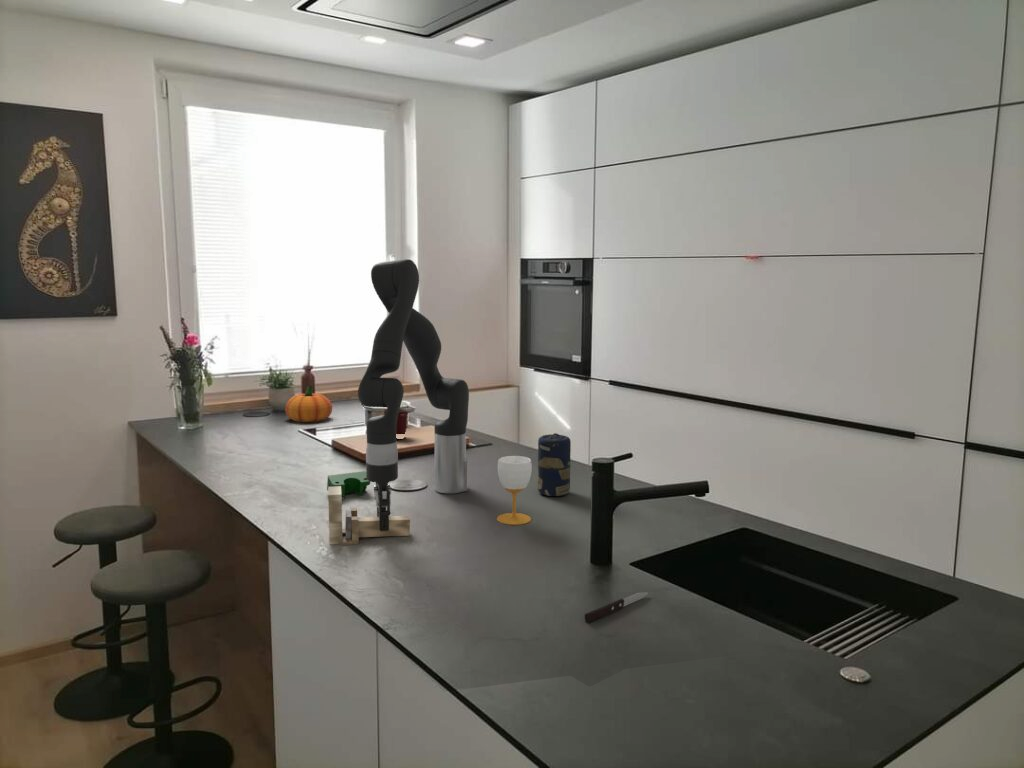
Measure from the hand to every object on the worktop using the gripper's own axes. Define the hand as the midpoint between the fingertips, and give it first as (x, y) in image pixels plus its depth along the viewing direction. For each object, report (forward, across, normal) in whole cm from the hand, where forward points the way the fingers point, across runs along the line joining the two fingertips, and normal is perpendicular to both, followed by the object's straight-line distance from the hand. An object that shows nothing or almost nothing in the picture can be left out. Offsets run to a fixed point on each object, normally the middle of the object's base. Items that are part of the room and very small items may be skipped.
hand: (382, 524), depth 179 cm
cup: (+3, +5, -34) cm, 35 cm away
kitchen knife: (+3, -50, -41) cm, 65 cm away
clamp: (+3, +36, +7) cm, 37 cm away
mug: (+3, +106, -13) cm, 107 cm away
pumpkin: (+3, +151, +21) cm, 152 cm away
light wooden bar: (+2, 0, +1) cm, 2 cm away
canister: (+3, +25, -51) cm, 57 cm away
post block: (+3, 0, +9) cm, 10 cm away
